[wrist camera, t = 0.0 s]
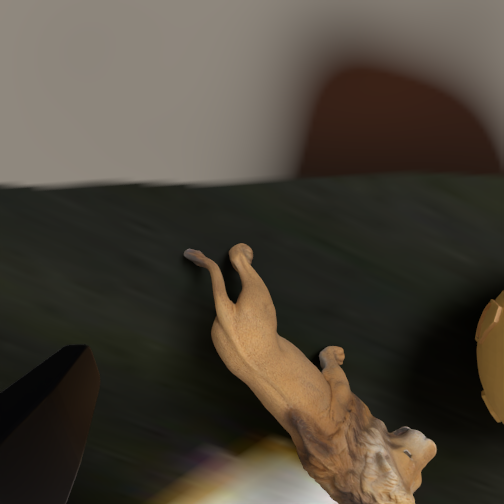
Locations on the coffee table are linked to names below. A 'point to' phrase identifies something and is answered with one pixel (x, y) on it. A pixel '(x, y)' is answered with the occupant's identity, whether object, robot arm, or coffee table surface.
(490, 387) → the stress ball
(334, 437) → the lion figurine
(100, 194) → the coffee table surface
